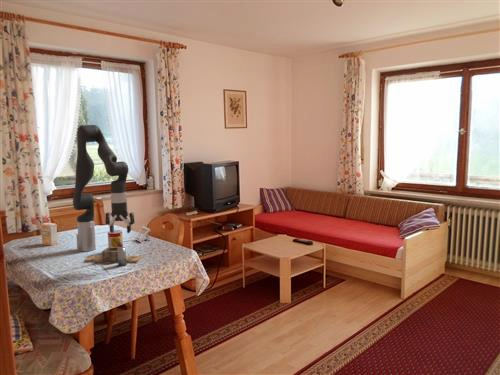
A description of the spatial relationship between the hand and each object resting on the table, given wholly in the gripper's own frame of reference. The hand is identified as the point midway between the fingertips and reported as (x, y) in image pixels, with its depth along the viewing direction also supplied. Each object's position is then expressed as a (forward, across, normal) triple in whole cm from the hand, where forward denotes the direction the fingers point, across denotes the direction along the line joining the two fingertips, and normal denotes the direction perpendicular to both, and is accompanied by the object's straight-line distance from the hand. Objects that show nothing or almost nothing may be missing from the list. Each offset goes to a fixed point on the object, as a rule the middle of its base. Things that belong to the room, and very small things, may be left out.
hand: (120, 232), depth 198 cm
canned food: (+17, -13, +23) cm, 32 cm away
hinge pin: (+17, 0, 0) cm, 17 cm away
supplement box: (+17, -61, +37) cm, 73 cm away
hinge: (+17, -8, +8) cm, 21 cm away
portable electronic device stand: (+17, -6, +48) cm, 51 cm away
